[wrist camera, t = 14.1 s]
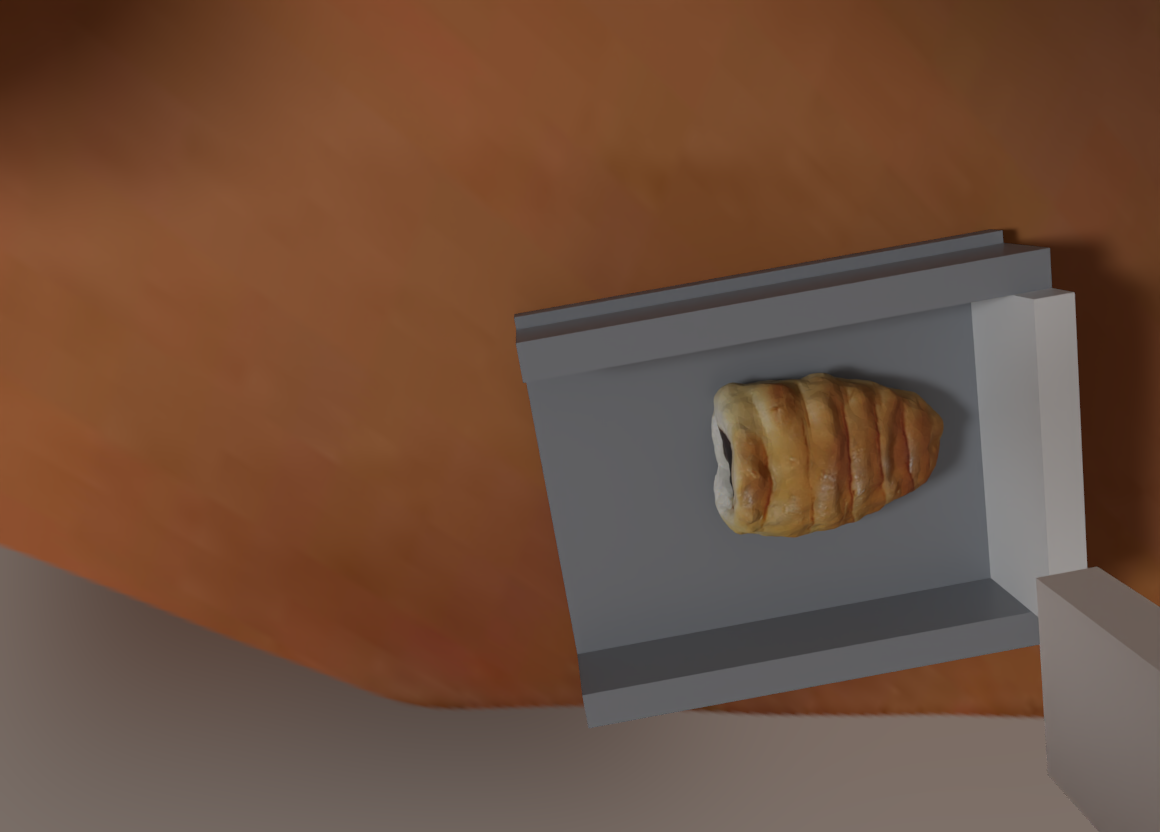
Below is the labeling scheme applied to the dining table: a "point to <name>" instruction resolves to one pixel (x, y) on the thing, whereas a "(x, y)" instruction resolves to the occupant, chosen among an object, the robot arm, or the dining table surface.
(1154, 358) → the dining table surface
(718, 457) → the pastry
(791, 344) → the tray
